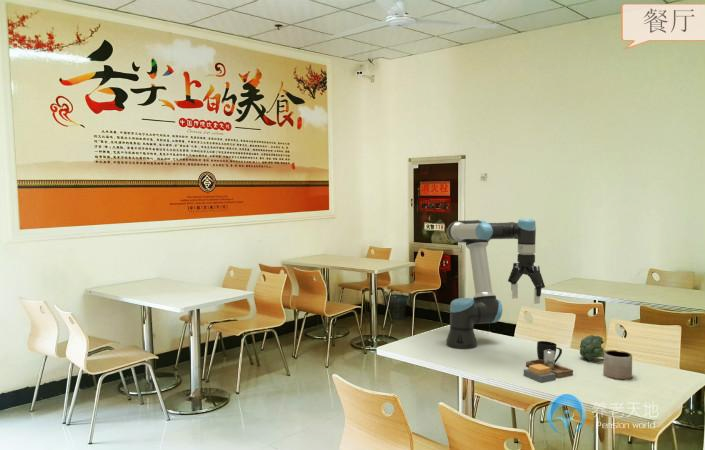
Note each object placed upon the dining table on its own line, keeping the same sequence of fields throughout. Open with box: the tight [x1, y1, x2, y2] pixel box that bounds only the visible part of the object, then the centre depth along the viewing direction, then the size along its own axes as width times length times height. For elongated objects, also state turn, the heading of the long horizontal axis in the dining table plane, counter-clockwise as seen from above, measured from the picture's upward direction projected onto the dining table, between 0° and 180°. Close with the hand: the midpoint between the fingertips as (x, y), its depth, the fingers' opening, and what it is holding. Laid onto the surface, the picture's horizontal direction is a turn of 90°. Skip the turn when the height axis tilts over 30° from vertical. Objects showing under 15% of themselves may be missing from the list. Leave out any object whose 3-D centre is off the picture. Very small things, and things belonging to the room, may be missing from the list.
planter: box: [602, 349, 633, 381], centre depth 231 cm, size 11×11×10 cm
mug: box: [536, 340, 563, 364], centre depth 248 cm, size 8×12×10 cm
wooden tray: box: [525, 358, 574, 379], centre depth 238 cm, size 18×9×2 cm, turn 26°
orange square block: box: [528, 364, 550, 375], centre depth 229 cm, size 6×6×3 cm
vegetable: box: [579, 334, 608, 362], centre depth 254 cm, size 12×13×15 cm
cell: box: [544, 349, 556, 371], centre depth 238 cm, size 4×4×9 cm
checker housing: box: [523, 368, 557, 384], centre depth 229 cm, size 10×8×2 cm
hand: (525, 300), depth 246 cm, fingers open, 13 cm apart
